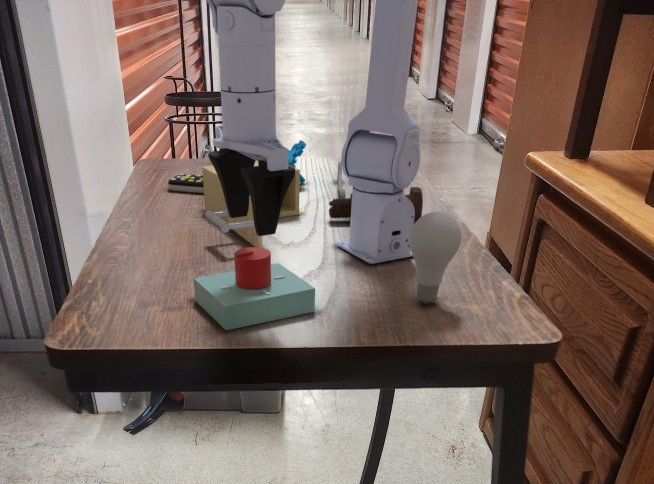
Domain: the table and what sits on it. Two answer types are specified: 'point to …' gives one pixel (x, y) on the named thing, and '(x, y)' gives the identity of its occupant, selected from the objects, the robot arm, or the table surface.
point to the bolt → (343, 206)
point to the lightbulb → (433, 250)
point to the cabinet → (217, 200)
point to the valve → (252, 268)
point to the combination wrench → (340, 182)
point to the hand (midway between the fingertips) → (251, 225)
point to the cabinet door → (236, 224)
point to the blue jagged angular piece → (295, 152)
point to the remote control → (187, 183)
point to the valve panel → (254, 298)
